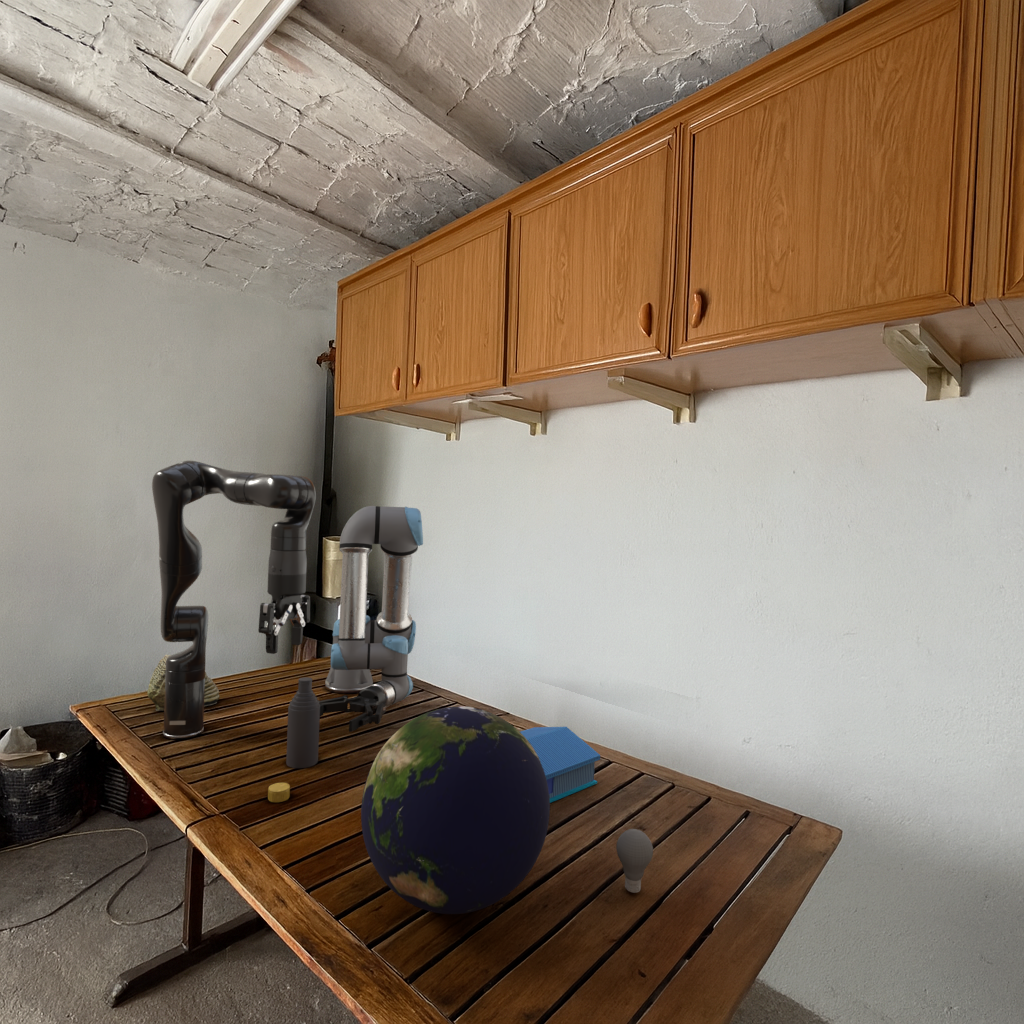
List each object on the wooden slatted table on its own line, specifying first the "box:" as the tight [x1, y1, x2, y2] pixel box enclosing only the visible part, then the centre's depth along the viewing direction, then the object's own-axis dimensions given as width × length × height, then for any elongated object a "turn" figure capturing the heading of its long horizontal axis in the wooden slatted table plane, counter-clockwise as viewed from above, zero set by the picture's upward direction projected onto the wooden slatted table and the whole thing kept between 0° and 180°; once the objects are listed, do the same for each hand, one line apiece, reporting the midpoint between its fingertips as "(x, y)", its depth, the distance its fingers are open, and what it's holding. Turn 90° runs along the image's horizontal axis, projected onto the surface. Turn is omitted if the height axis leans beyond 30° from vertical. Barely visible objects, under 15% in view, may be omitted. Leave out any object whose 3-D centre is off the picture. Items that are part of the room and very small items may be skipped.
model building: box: [519, 726, 601, 804], centre depth 139 cm, size 39×24×10 cm, turn 132°
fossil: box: [147, 654, 221, 712], centre depth 185 cm, size 9×18×15 cm, turn 132°
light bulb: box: [615, 828, 654, 894], centre depth 106 cm, size 6×6×10 cm
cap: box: [267, 782, 291, 803], centre depth 133 cm, size 4×4×2 cm
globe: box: [360, 705, 551, 915], centre depth 102 cm, size 30×30×30 cm
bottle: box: [285, 676, 321, 769], centre depth 150 cm, size 7×7×20 cm
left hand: (284, 648), depth 132 cm, fingers open, 8 cm apart
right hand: (327, 721), depth 159 cm, fingers open, 13 cm apart
